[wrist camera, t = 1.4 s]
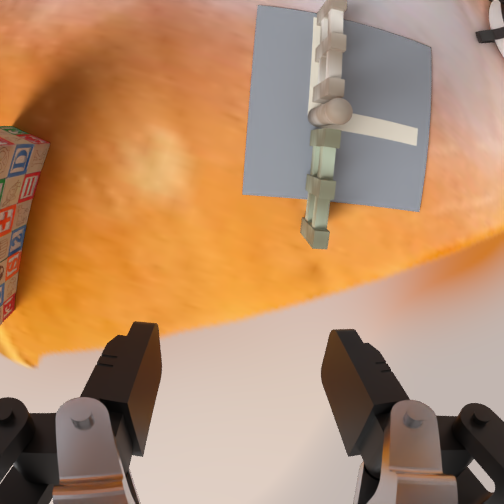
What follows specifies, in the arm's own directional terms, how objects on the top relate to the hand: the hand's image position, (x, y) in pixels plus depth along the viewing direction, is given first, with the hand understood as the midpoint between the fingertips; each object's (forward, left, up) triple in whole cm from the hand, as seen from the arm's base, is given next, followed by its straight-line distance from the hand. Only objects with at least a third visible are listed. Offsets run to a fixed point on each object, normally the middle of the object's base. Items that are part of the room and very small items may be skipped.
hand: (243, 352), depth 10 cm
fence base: (-14, +7, -19) cm, 25 cm away
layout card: (-11, +9, -19) cm, 24 cm away
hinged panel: (-4, +6, -19) cm, 20 cm away
